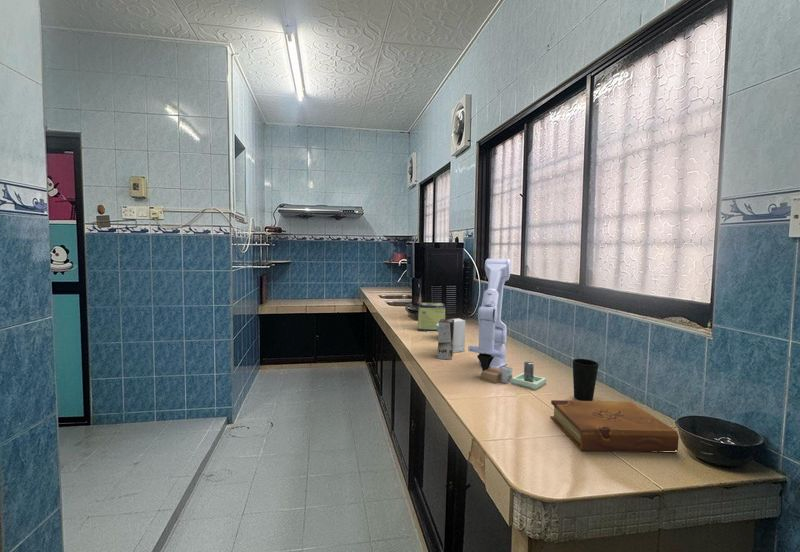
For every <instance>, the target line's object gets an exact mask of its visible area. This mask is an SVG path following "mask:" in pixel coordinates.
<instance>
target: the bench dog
mask: <svg viewBox="0 0 800 552" xmlns="http://www.w3.org/2000/svg"><path fill="white" fill-rule="evenodd" d="M511 378H513V367H512V366H506V365H504V366H502V367H500V371H499V382H498V383H502V384H505V385H508V384H509V383H511Z"/></svg>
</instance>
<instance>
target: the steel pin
mask: <svg viewBox="0 0 800 552" xmlns="http://www.w3.org/2000/svg"><path fill="white" fill-rule="evenodd" d="M534 366H535V364H534V362H532V361H525V362H524V365H523V373H524V381H528V382H532V383H533V375H534V373H535V370H534V368H535V367H534ZM534 376H535V375H534Z"/></svg>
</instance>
